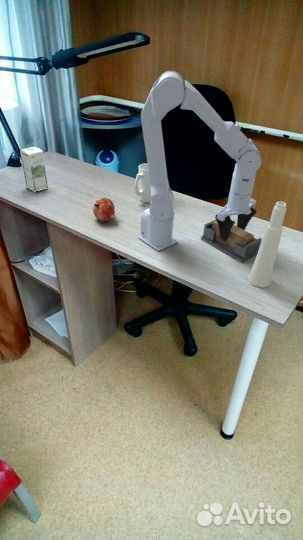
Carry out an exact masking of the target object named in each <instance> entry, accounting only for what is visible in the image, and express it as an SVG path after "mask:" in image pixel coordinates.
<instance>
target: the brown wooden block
mask: <svg viewBox="0 0 303 540" xmlns="http://www.w3.org/2000/svg"><path fill="white" fill-rule="evenodd" d="M213 221H214V220H213ZM212 229H213V230H214V231H216V235H215V239H216V240H218V241H220V242H221V243H223V244H225V245H227V246H228V247H230V248H232V249H234V245H235V243H239V244H240V245H242V246H245V245H247V244H249V243H251V242H253V238H255V234H252V232H251V233H250V232H248V231H247V230H246V229H245V230H243V229H241V228H239V227H237V225H236V224H234V225H233V226H232V228H231V230H230V233H229V237H228V239H227V240H226V241H224V240H222V239H221V238H220V232H219V227H218V223H217V221H214V222H213V226H212Z"/></svg>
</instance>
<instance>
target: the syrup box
mask: <svg viewBox="0 0 303 540" xmlns="http://www.w3.org/2000/svg"><path fill="white" fill-rule="evenodd" d="M19 151H20V152H19V153H20V157H21V163H22V168H23V174H24V181H25V186H26V188H27V187H28V188H29V189H31V190H33V191H38V190H40V189H44V188H47V187H48V178H47V171H46V165H45V157H44V151H43V150H42V149H40V148H39V147H36V146H32V147H28V148H23V149H20V150H19ZM28 188H27V189H28ZM48 188H49V187H48ZM29 189H28V190H29ZM31 190H30V191H31ZM33 191H32V192H33Z"/></svg>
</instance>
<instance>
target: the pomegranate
mask: <svg viewBox="0 0 303 540" xmlns="http://www.w3.org/2000/svg"><path fill="white" fill-rule="evenodd" d="M115 209H116V208H115V204H114V202H113V201H112V200H111V198H108V197H102V198H100V199H98V200H96V201H95V203H94V204H93V208H92V212H93V215H94V216H95V217H94V218H97V219H98V220H99V221H100V222H104V223H105V222H109V221H111V220H112V216H115V217H116V215H115V213H116V210H115Z"/></svg>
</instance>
